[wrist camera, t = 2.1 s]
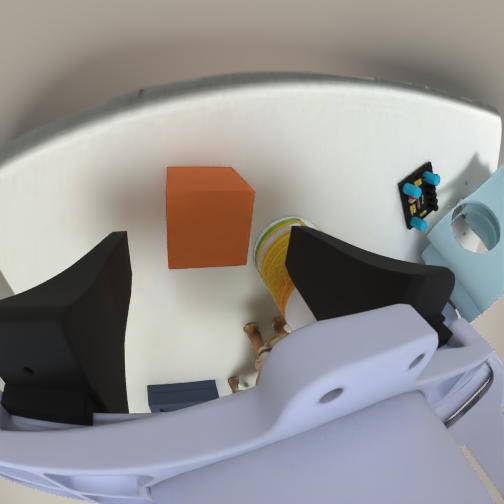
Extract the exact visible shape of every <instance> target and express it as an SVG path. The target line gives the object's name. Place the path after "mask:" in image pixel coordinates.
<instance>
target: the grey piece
mask: <svg viewBox="0 0 504 504" xmlns="http://www.w3.org/2000/svg"><path fill="white" fill-rule="evenodd" d="M463 199H465V198H460V199H459V200H458V203H460V202H461V201H462V200H463ZM458 203H457V204H458ZM468 204H469V203H463V204H461V205H459V206H458V209H459V211H460V212H461V211H462V210H463V209H464V208H465V207H466V206H467V205H468ZM467 214H468V213H465V214H462V217H463V218H464V219H465V218H466V216H467Z"/></svg>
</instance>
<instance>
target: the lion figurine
mask: <svg viewBox="0 0 504 504" xmlns="http://www.w3.org/2000/svg"><path fill="white" fill-rule="evenodd" d="M285 325H286V321H285V319H284V318H283V317H278V318H275V319H274V321H273V328H274V331H275V333H276V335H273V336H272V337H270V338H269V339H268V340H267V341H266V343H265V345H264V344H263V342H262V338H261V333H260V331H259V330H258V326H257V325H256V324H255V323H250V324H248V325H247V326H246V327H244V331H245V332H246V334H247V335H248V337H249V339H250V340H251V342H252V345H253V351H254V355H255V358H256V359H257V360H256V362H255V369H256V370H258V371H259V373H258V376H257V379H256V385H257V384H258V381H259V378H260V374H261V370H262V365H263V363H264V361H265V360H266V358H267V356H268V355H269V353H270V351H271V350H272V348H273V347H274V345H275V344H276V343H278V342H279V341H280V340H282V339H283V338H284V337H286V336H287V335H288V334H290V333H287V332H286V331H285V330H284V328H283V327H284V326H285ZM228 382H229V385H230V387H231V389H232V392H233V393H236V392H239V391H242V390H239V388H238V384H239V379H238V378H236V377H233V378H230V379H229V380H228Z"/></svg>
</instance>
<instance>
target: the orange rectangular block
mask: <svg viewBox="0 0 504 504" xmlns="http://www.w3.org/2000/svg"><path fill="white" fill-rule="evenodd" d="M254 195H255V191H254V190H253V188H252V187H251V186H250V185H249V184H248V183H247V182H246V181H245V180H244V179H243V178H242V177H241V176H240V175H239V174H238V173H237V172H236V171H235V170H234V169H233V168H232V167H167V180H166V216H167V249H168V268H169V269H186V268H204V267H221V266H238V265H246V264H247V255H248V246H249V238H250V229H251V221H252V212H253V203H254Z"/></svg>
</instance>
